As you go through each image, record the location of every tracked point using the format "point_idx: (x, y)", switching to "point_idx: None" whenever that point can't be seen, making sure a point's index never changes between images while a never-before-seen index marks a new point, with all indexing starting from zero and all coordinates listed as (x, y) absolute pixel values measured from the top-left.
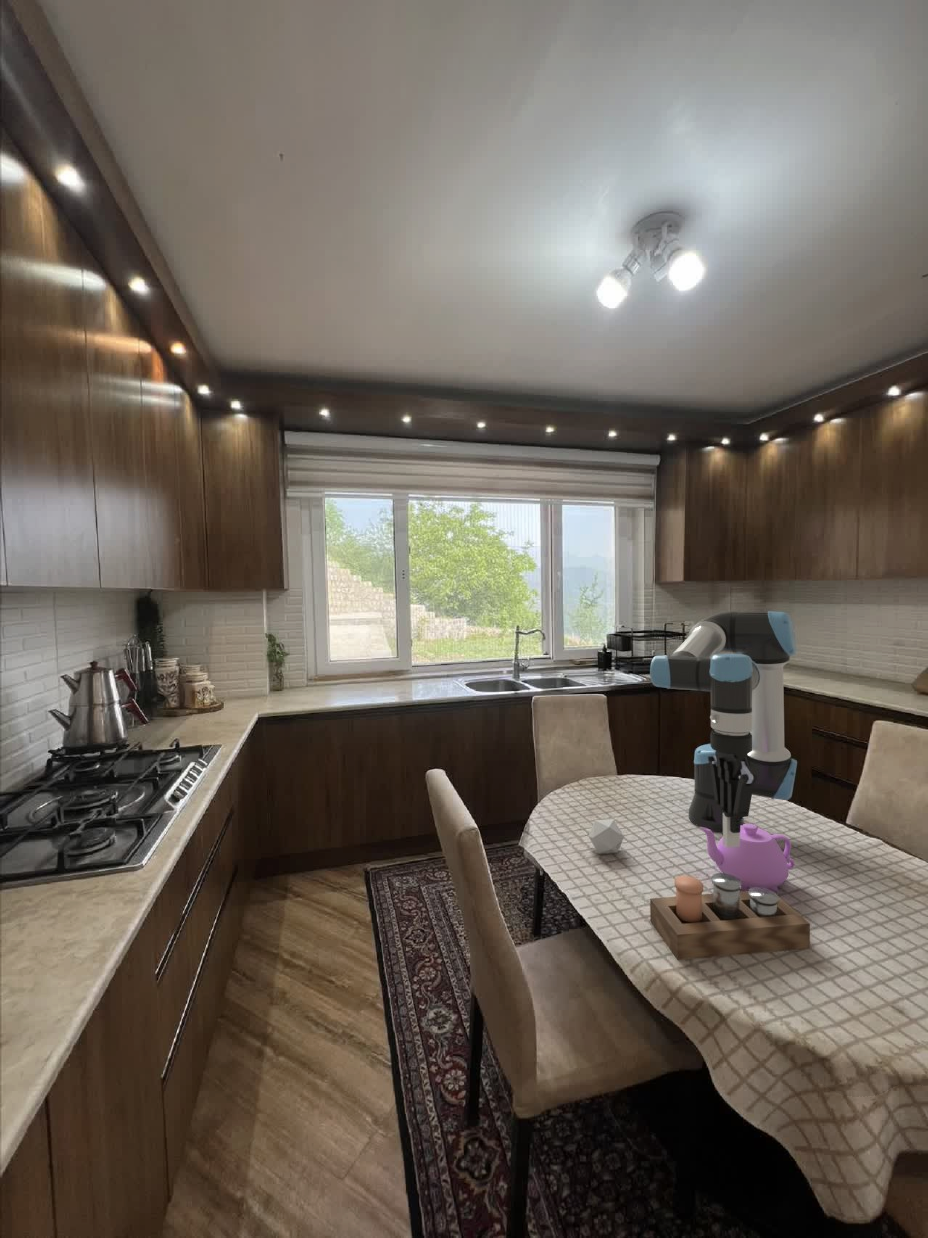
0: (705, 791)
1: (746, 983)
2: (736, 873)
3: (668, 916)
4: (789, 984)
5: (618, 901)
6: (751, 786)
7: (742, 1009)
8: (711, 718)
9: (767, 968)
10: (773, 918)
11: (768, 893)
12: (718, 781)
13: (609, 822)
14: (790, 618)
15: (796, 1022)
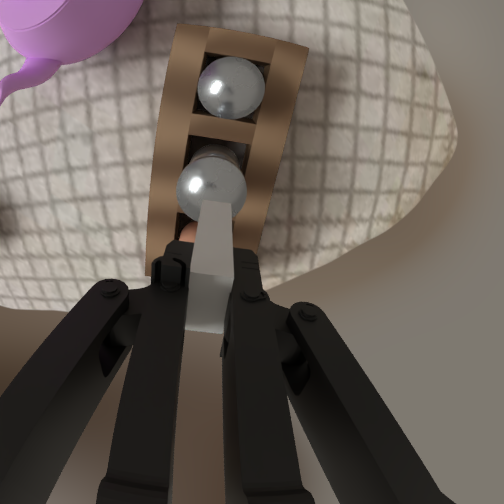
0: None
1: (317, 211)
2: (97, 49)
3: None
4: (343, 157)
5: (98, 269)
6: (425, 488)
7: (344, 247)
8: None
9: (307, 158)
10: (269, 99)
11: (233, 74)
12: (68, 435)
13: None
14: None
15: (384, 205)
